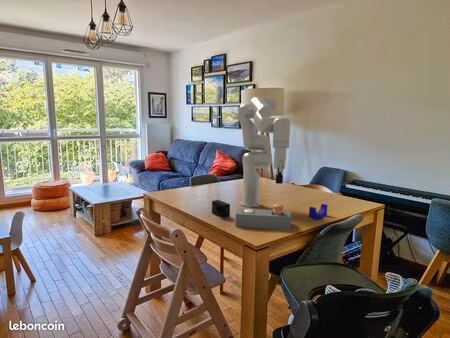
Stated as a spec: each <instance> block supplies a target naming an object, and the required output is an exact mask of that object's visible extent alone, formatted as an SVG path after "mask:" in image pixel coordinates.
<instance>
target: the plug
mask: <svg viewBox="0 0 450 338" xmlns="http://www.w3.org/2000/svg"><path fill="white" fill-rule="evenodd" d="M245 209H246V210H244V213H250V214H254V210H250V209H251V208H245Z"/></svg>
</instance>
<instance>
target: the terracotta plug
mask: <svg viewBox="0 0 450 338" xmlns="http://www.w3.org/2000/svg"><path fill="white" fill-rule="evenodd" d="M283 208H284V204H281V203H274V204H273V205H272V210H273V215H282V211H284V210H283Z"/></svg>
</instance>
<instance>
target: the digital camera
mask: <svg viewBox="0 0 450 338" xmlns="http://www.w3.org/2000/svg"><path fill="white" fill-rule="evenodd" d="M211 213H212V215H213V214H214V215H215V216H218V217H220V218H222V219H226V218H229V217H231V215H230V213H231V204H230V203H228V202H226V201H223V200H220V199H217V200H212V201H211Z"/></svg>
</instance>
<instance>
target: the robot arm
mask: <svg viewBox="0 0 450 338" xmlns="http://www.w3.org/2000/svg"><path fill="white" fill-rule="evenodd" d="M276 109H277V101H276V100H275V98H274V97H272V96H255V97H253V98H252V99H250V102H249V103H244V104H241V105H240V106H239V107H238V111H237V116H238V121H239V124H240V127H241V130H242V144H243V148H244V150H246V151H251V152H245V153H244V154H242V158H241V159H242V160H241V162H242V167H243V177H242V179H243V184H242V200H241V201H240V202H239V205H240V206H243V207H246V208H257V207H261V205H262V203H261V201H259V200H260V173H259V172H258V171H257V169H268V168H270V167H272V164H273V168H274V170H276V174H275V184H283V183H284V182H283V181H284V173H283V172H284V170H285V169H286V160H287V159H286V158H287V149H289V148H290V135H291V119H290V118H289V117H274V116H273V114H274V112H275V111H276ZM272 116H273V117H272ZM251 119H253V120H251ZM257 131H258V132H259V133H262V134H258V132H257ZM267 134H272V135H273V137H272V145H271V140H270V138H269V136H268V135H267ZM271 146H272V147H271ZM273 148H274V153H273V154H274V155H273V158H272V149H273ZM259 151H260V152H259Z"/></svg>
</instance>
